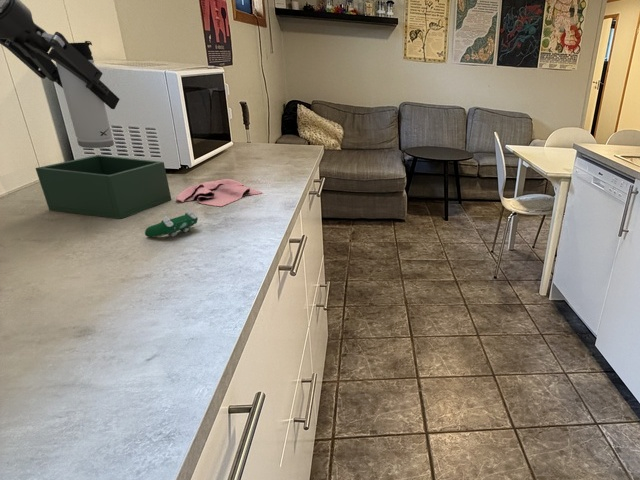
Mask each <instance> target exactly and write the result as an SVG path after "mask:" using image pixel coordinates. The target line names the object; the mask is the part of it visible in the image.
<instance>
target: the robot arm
mask: <svg viewBox="0 0 640 480" xmlns="http://www.w3.org/2000/svg"><path fill="white" fill-rule="evenodd" d="M70 43H71V42H69V41H68V39H66V37H65V36H64V35H63V33H61V32H59V31H54V34H52V33H48V32H47V31H46V30H45V29H43V28H42V27H41V26H39V25H37V23H35V22H34V19H33V14H32V11H31V10H30V8H29V7H28V6H27V5H26V4H24V3H23V2H22V1H21V0H0V45H1V46H3V47H4V48H6V49H7V50H8V51H9V52H11V53H12V54H13V55H14V56H15V57H16V58H17V59H18V60H20V61H21V62H22V63H23V64H24V65H25V66H26V67H27V68H29V69H30V70H31V71H32V72H33V73H34V74H35V75H36V76H38V77H39V78H40V79H42V80H45V79H46V78H47V79H48V80H49V81H51V82H53V83H56V84H57V85H58V86H59V87H60V88H62V89H63V87H62V83H61V79H60V76H59V72H58V68H57V65H56V62H57V63H58V64H60V65H61V66H62V67H64V68H65V69H67V70H68V71H69V72H71V73H72V74H74V75H75V76H77V77H78V78H79V79H81V80H82V81H84V82H85V83H87V85H86V88H88V89H90V90H91V91H92V92H93V93H94V94H95V95H96V96H97V97H99V98H100V99H101V100H102V101H103V102H104V105H105V106H107V107H108V108H109V109H110V110H115V109H116V107H117V106H118V103H119V101H120V98H119V97H118V96H117V95H116V94H115V93H114V92H113V91H112V90H111V89H110V88H109V87H108V86H107V85H106V84H105V83H104V82H102V81H101V78H102V76H103V72H102V71H101V70H100V69H99V68H98V67H97V66H96V65H95V66H94V65H93V64H92V63H91V62H90V61H89V60H87V59H86V58H85V57H84V56H83V55H82V54H81V53H80V52H79V51H77V50H76V49H75V48H74V47H73V46H72V45H71V44H70ZM53 61H54V62H53Z"/></svg>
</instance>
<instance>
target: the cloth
mask: <svg viewBox="0 0 640 480" xmlns="http://www.w3.org/2000/svg"><path fill="white" fill-rule="evenodd" d="M261 194H264V192H263V191H260V190H258V189H255V188H252V187H248V186H245V185H244V183H242V182H240V181H237V180H234V179H230V178H224V179H217V180H211V181H210V180H209V181H206V182H201V183H198V184H195V185H191V186H187V187H186V188H184V190H182V191H181V192H180V193H179V194H178V195H177V197H176V198H175V202H176V203H177V202H178V203H185V202H191V201H194V200H195V198H196V201H197V202H198V203H199V204H201V205H207V206H214V207H219V208H222V207H225V206H227V205H229V204H232V203H233V202H236V201H238V200H240V199H242V198H243V197H247V196H255V195H261Z"/></svg>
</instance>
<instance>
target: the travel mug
mask: <svg viewBox="0 0 640 480" xmlns="http://www.w3.org/2000/svg"><path fill="white" fill-rule="evenodd" d="M69 43H70V44H71V45H72V46H73V47H74V48H75V49H76V50H77V51H79V52H80V53H81V54H82V55H83V56H84V57H85V58H86V59H87V60H89V61H90V62H91V63H92V64H93V65H94V66H95V67H96V64H95V60H94V56H93V53H92V49H91V48H90V46H93V43H92V41H90V40H85V41H84V42H69ZM55 65H56V67H57V68H58V72H59V76H60V79H61V83H62V87H63V88H62V87H61V88H62V90H63V93H64V97H65V101H66V105H67V108H68V112H69V116H70V119H71V123H72V127H73V131H74V134H75V137H76V142H77V145H78V146H79V147H81V148H86V149H88V148H89V149H101V148H102V149H104V148H110V147H112V146H114V145H115V143H114V139H113V134H112V130H111V126H110V122H109V118H108V114H107V109H106V104H105V103H104V102H103V101H102V100H101V99H100V98H99V97H97V96H96V95H95V94H94V93H93V92H92V91H91V90H90V89H88V88H86V85H87V83H85V82H84V81H82V80H81V79H79V78H78V77H77V76H75V75H74V74H72V73H71V72H69V71H68V70H67V69H65V68H64V67H62V66H61V65H60V64H58V63H57V62H55Z"/></svg>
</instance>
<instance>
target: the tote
mask: <svg viewBox="0 0 640 480" xmlns="http://www.w3.org/2000/svg"><path fill="white" fill-rule="evenodd" d="M35 171H36V174H37V177H38V181H39V183H40V187H41V190H42V193H43V195H44V196H43V197H44V199H45V201H46V204H47V208H48V210H49V211H51V212H52V211H54V212H60V213H61V212H62V213H70V214H76V215H86V216H92V217H93V216H95V217H101V218H102V217H103V218H111V219H118V220H122V219H124V218H127V217H130V216H132V215H136V214H138V213H141V212H143V211H146V210H148V209H151V208H153V207H156V206H159V205H161V204H164V203H167V202H170V201H172V196H171V191H170V186H169V182H168V176H167V172H166V166H165V162H164V161H157V160H149V159H139V158H131V157H130V158H129V157H121V156H120V157H119V156H113V155H112V156H111V155H103V154H102V155H101V154H96V155H91V156H87V157H81V158H77V159H71V160H67V161H62V162H58V163H53V164H48V165H44V166H39V167H35Z"/></svg>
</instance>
